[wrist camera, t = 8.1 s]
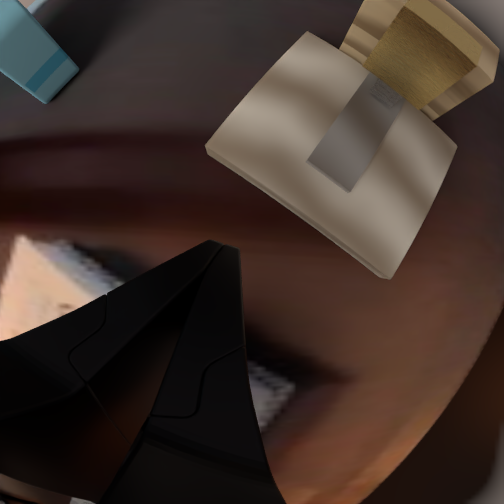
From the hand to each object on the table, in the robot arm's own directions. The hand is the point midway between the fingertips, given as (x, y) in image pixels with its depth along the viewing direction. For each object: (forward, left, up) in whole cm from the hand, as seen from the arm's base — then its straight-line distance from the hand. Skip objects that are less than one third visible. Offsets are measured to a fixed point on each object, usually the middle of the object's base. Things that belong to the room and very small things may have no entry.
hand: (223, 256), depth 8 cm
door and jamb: (+8, -12, -14) cm, 20 cm away
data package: (+22, +17, -14) cm, 31 cm away
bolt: (+12, -15, -11) cm, 22 cm away
